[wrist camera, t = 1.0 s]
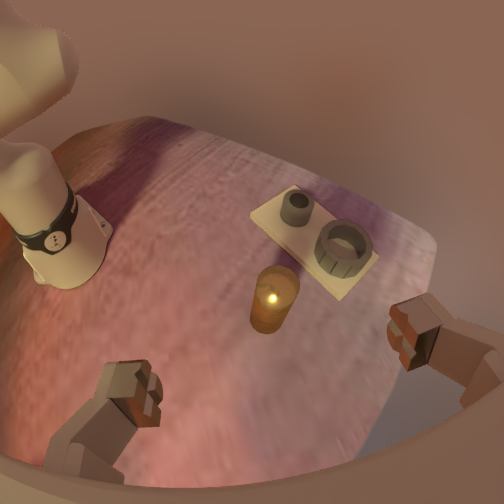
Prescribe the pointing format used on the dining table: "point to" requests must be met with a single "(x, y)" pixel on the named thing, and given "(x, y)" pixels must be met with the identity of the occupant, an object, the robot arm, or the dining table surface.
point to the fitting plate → (307, 242)
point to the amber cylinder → (273, 298)
